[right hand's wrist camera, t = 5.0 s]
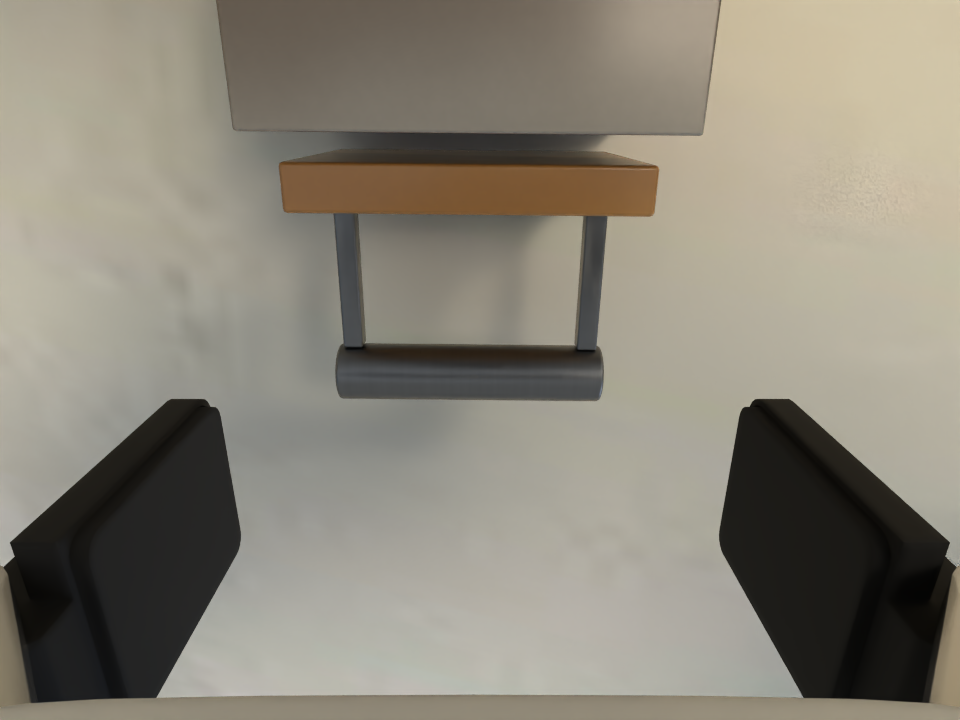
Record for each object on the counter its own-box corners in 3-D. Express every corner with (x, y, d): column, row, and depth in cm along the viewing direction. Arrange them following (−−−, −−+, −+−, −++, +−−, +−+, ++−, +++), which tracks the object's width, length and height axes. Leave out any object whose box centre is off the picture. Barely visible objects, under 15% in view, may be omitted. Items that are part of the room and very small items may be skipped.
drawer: (589, 353, 23) (629, 439, 17) (354, 350, 23) (306, 436, 17) (658, -492, 15) (785, -930, 9) (293, -496, 15) (158, -937, 9)
